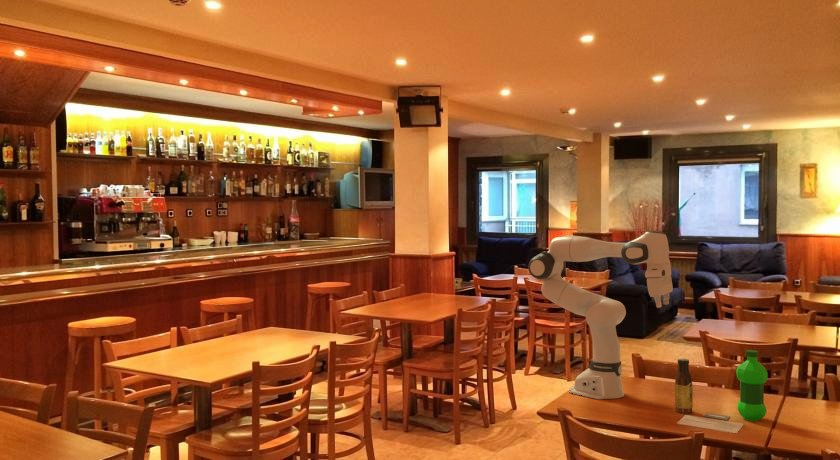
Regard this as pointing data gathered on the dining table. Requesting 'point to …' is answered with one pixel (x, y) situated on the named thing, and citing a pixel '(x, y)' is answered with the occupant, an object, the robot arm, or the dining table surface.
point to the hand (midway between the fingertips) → (662, 305)
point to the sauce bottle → (683, 388)
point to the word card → (716, 416)
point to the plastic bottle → (751, 387)
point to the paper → (710, 424)
